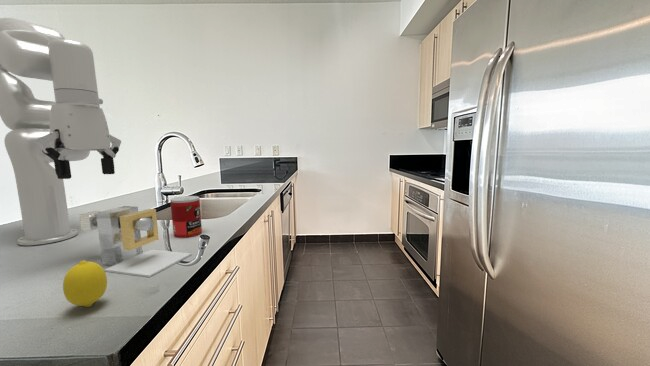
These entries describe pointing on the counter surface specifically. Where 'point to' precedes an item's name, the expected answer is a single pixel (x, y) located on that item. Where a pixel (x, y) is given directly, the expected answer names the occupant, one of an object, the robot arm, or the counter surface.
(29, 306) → the counter surface
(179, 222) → the canned food
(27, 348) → the counter surface
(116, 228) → the bearing block
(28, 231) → the robot arm
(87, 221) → the shaft
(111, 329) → the counter surface
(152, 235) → the frame
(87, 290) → the lemon
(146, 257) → the mat
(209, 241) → the counter surface
